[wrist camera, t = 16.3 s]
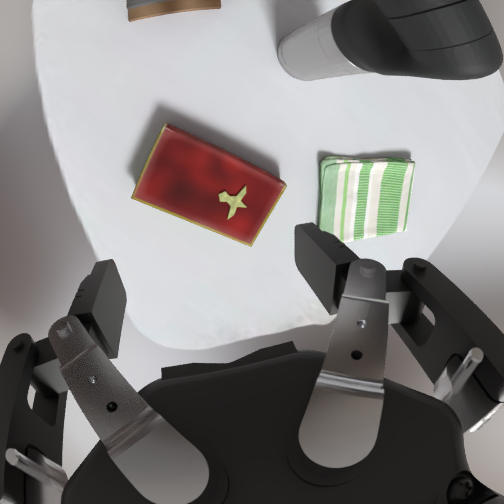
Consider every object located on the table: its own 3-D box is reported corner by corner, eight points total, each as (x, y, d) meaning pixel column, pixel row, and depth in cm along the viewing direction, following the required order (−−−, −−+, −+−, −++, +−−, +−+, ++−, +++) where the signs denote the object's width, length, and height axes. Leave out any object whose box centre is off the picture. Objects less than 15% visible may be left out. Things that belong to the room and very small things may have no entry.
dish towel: (316, 155, 45) (323, 158, 43) (409, 155, 50) (418, 158, 47) (313, 245, 54) (319, 251, 52) (400, 229, 58) (407, 234, 56)
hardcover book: (166, 122, 37) (164, 123, 33) (279, 178, 46) (288, 184, 42) (134, 191, 41) (130, 198, 37) (245, 236, 50) (251, 247, 46)
